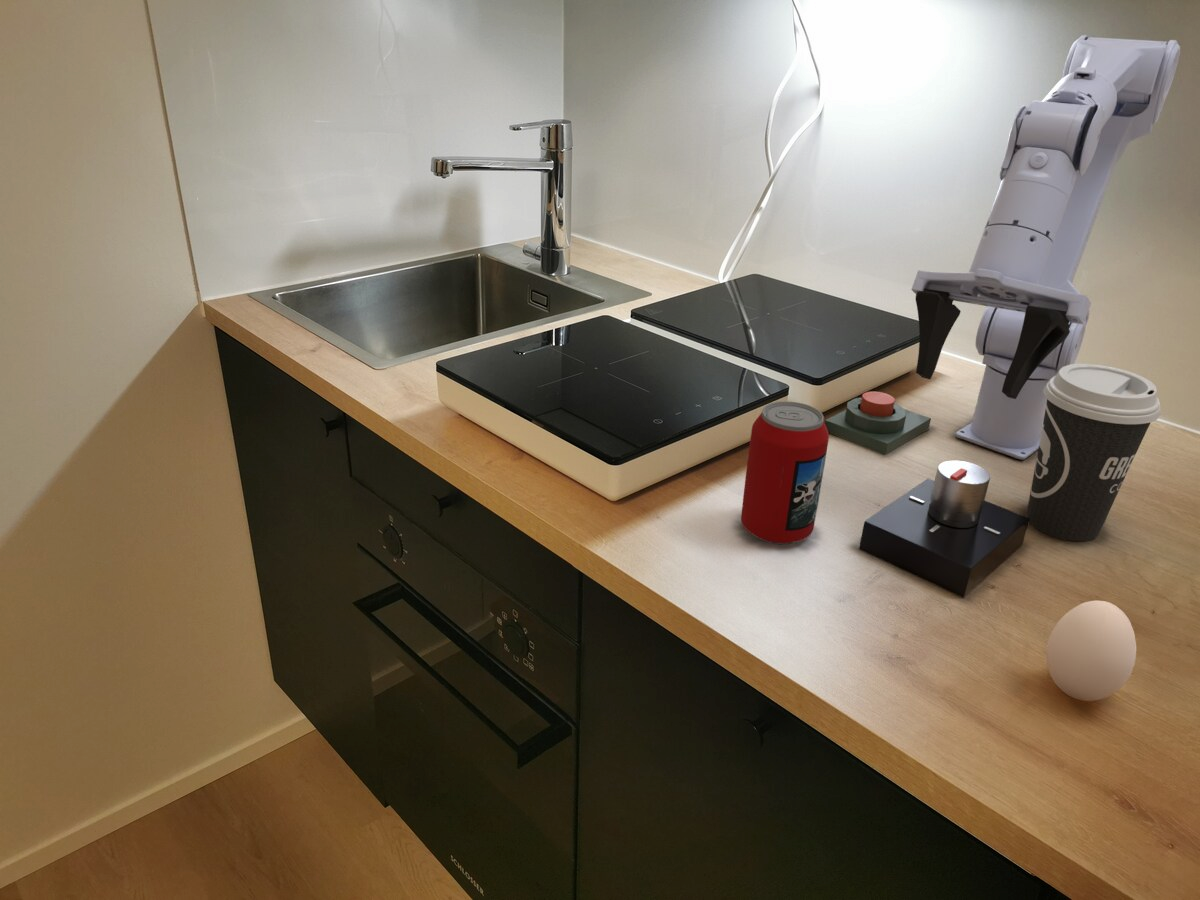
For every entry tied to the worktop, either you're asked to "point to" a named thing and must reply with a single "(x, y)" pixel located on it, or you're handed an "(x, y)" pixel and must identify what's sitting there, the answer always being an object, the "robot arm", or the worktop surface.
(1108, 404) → the coffee cup
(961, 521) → the knob
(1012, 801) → the worktop surface
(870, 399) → the button
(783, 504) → the beverage can
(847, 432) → the button block
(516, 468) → the worktop surface
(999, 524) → the panel
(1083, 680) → the egg
